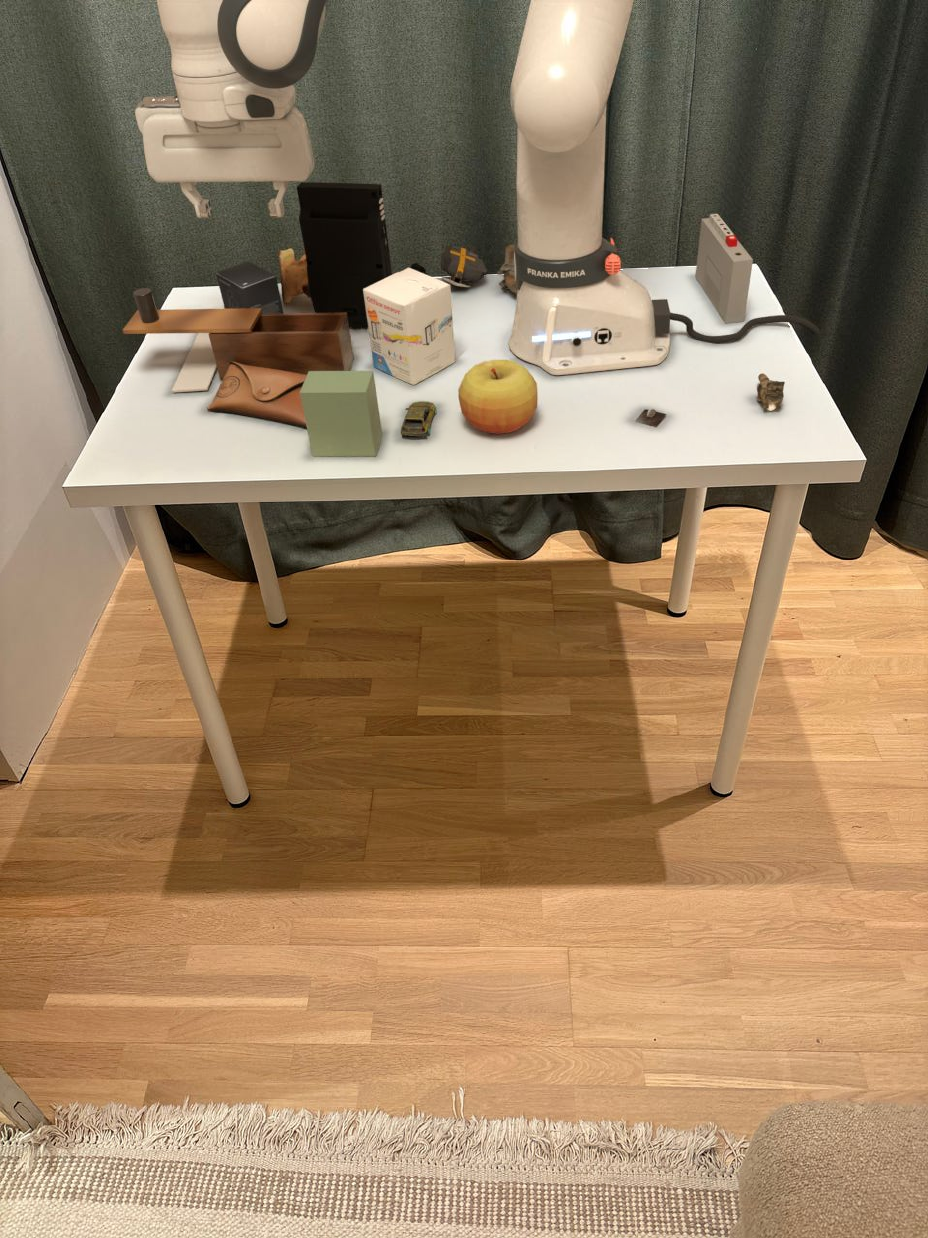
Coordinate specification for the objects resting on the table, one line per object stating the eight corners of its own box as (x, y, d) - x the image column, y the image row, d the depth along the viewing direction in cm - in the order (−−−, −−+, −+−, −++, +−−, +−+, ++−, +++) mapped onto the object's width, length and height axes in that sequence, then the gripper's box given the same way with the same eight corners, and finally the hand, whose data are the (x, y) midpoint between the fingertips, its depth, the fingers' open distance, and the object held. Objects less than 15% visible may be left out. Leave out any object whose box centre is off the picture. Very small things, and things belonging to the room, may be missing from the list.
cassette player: (743, 321, 137) (754, 252, 130) (725, 323, 137) (734, 254, 130) (712, 275, 148) (720, 209, 141) (695, 277, 148) (702, 211, 141)
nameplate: (172, 392, 132) (207, 390, 132) (171, 390, 132) (207, 388, 132) (206, 320, 148) (237, 318, 148) (205, 318, 148) (237, 315, 147)
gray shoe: (447, 231, 157) (440, 255, 159) (442, 262, 145) (434, 287, 147) (490, 246, 158) (482, 269, 160) (488, 278, 146) (480, 302, 149)
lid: (262, 311, 133) (255, 279, 130) (251, 332, 128) (243, 299, 125) (138, 313, 135) (128, 282, 132) (123, 334, 131) (112, 301, 127)
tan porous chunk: (274, 224, 146) (329, 222, 148) (280, 269, 155) (331, 267, 157) (280, 287, 142) (336, 285, 143) (285, 330, 151) (338, 327, 152)
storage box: (354, 358, 136) (346, 311, 132) (346, 379, 132) (338, 332, 127) (232, 359, 138) (220, 313, 134) (220, 380, 134) (208, 334, 129)
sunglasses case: (201, 409, 128) (204, 358, 126) (231, 409, 134) (235, 361, 132) (319, 430, 122) (325, 377, 120) (345, 429, 128) (350, 379, 127)
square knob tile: (656, 427, 119) (656, 418, 118) (634, 421, 120) (634, 413, 119) (666, 414, 120) (666, 406, 119) (645, 408, 121) (645, 400, 120)
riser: (382, 434, 121) (373, 370, 115) (375, 456, 118) (366, 391, 112) (320, 434, 122) (308, 370, 116) (312, 456, 119) (299, 392, 113)
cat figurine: (763, 417, 118) (766, 385, 116) (748, 395, 125) (751, 365, 123) (786, 415, 118) (790, 383, 116) (769, 394, 125) (773, 364, 122)
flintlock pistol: (563, 285, 142) (496, 284, 142) (561, 308, 144) (495, 307, 144) (561, 238, 156) (499, 237, 156) (559, 260, 158) (499, 259, 158)
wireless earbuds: (410, 290, 150) (437, 286, 153) (410, 274, 149) (438, 270, 151) (387, 276, 155) (414, 272, 157) (388, 260, 153) (415, 256, 155)
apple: (458, 445, 118) (453, 387, 113) (462, 403, 125) (458, 347, 120) (538, 443, 118) (537, 385, 112) (537, 401, 125) (537, 345, 119)
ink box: (371, 367, 134) (360, 286, 126) (415, 344, 138) (407, 264, 130) (413, 386, 129) (404, 304, 121) (457, 362, 134) (451, 281, 126)
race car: (438, 406, 125) (437, 389, 124) (428, 440, 120) (426, 423, 118) (411, 406, 126) (409, 389, 124) (399, 439, 120) (397, 422, 119)
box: (291, 344, 141) (276, 274, 133) (257, 358, 138) (241, 287, 131) (264, 327, 145) (248, 258, 138) (231, 340, 143) (214, 271, 136)
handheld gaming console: (399, 320, 144) (383, 182, 130) (390, 334, 141) (373, 194, 127) (325, 315, 147) (301, 180, 133) (314, 329, 144) (289, 192, 130)
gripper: (121, 104, 110) (153, 226, 119) (295, 101, 108) (314, 225, 117) (140, 88, 114) (169, 207, 124) (307, 85, 112) (324, 205, 122)
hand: (241, 216), depth 121 cm, fingers open, 8 cm apart
